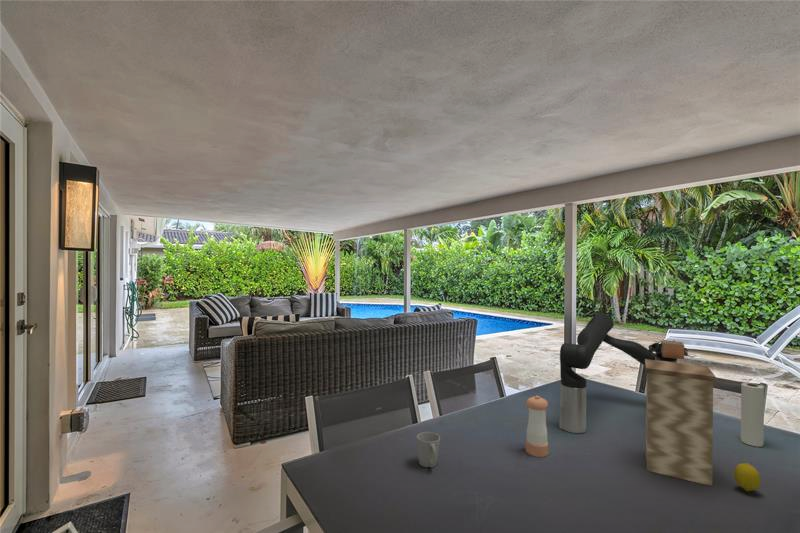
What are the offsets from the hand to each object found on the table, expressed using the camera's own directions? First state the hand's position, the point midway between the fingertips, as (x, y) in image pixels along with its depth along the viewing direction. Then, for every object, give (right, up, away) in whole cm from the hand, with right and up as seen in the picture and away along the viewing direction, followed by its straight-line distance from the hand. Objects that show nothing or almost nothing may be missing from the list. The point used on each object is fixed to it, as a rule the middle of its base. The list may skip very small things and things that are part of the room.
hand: (669, 342), depth 149 cm
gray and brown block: (-3, -3, -5) cm, 7 cm away
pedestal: (-16, -35, -26) cm, 46 cm away
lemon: (-5, -35, -39) cm, 52 cm away
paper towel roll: (+25, -36, -8) cm, 44 cm away
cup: (-95, -34, -27) cm, 104 cm away
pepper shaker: (-57, -34, -17) cm, 69 cm away
